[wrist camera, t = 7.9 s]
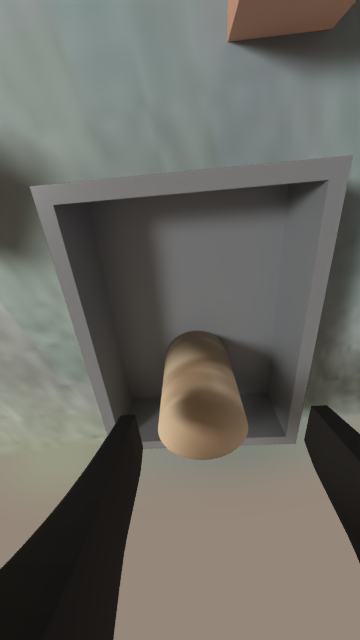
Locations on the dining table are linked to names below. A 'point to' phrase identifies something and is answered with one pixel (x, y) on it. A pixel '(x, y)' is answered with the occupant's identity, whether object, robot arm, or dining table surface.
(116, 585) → the robot arm
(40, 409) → the dining table surface
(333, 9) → the wooden cube
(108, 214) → the tote
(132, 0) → the dining table surface
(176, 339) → the wooden cylinder
